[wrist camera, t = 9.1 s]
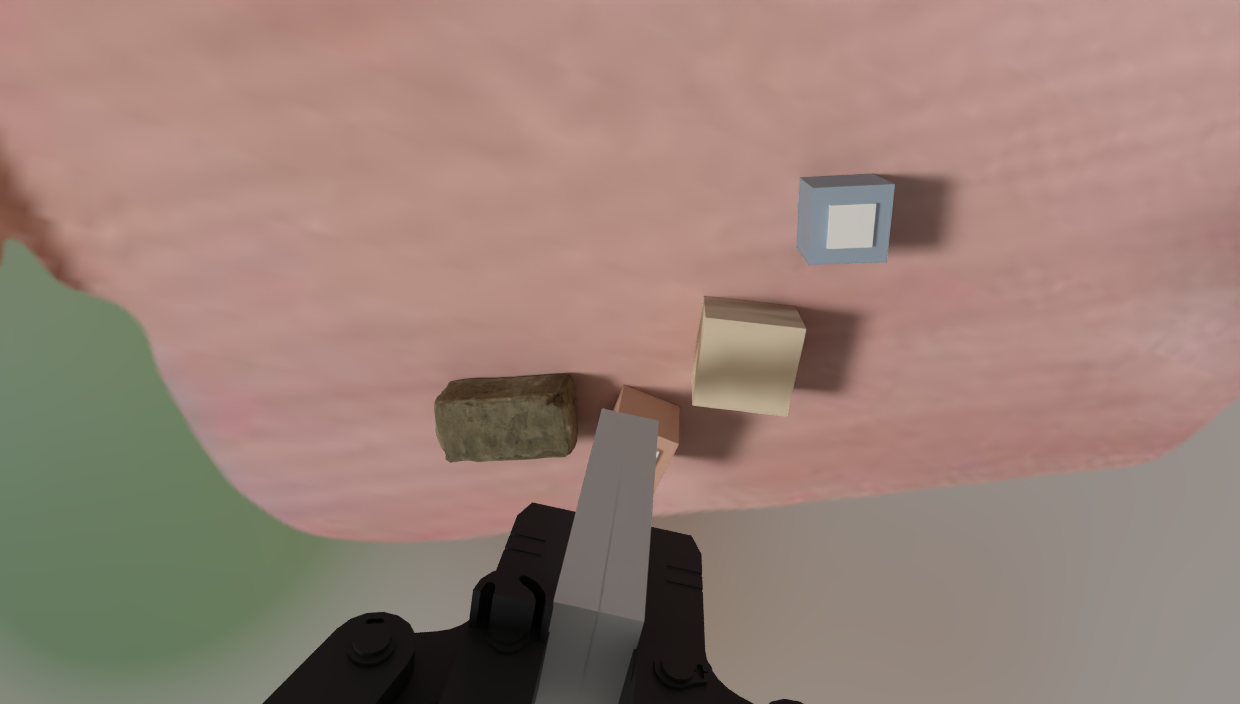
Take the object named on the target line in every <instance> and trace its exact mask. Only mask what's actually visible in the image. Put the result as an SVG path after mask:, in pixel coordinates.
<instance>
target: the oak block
mask: <svg viewBox="0 0 1240 704" xmlns="http://www.w3.org/2000/svg"><path fill="white" fill-rule="evenodd" d="M805 333H806V327H805V325H804V323H803V321H802V319H801V317H800V315H799V313H798V311H797V309H796V307H795V306H789V305H780V304H771V303H762V302H753V301H744V300H735V299H726V298H717V297H708V296H703V303H702V309H701V316H700V323H699V330H698V337H697V344H696V350H695V357H694V364H693V371H692V406H701V407H709V408H718V409H726V410H735V411H743V412H751V413H760V414H768V415H777V416H785V417H787V415H788V410H789V406H790V401H791V397H792V392H793V388H794V383H795V379H796V374H797V370H798V365H799V360H800V356H801V351H802V347H803V342H804V338H805Z"/></svg>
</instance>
